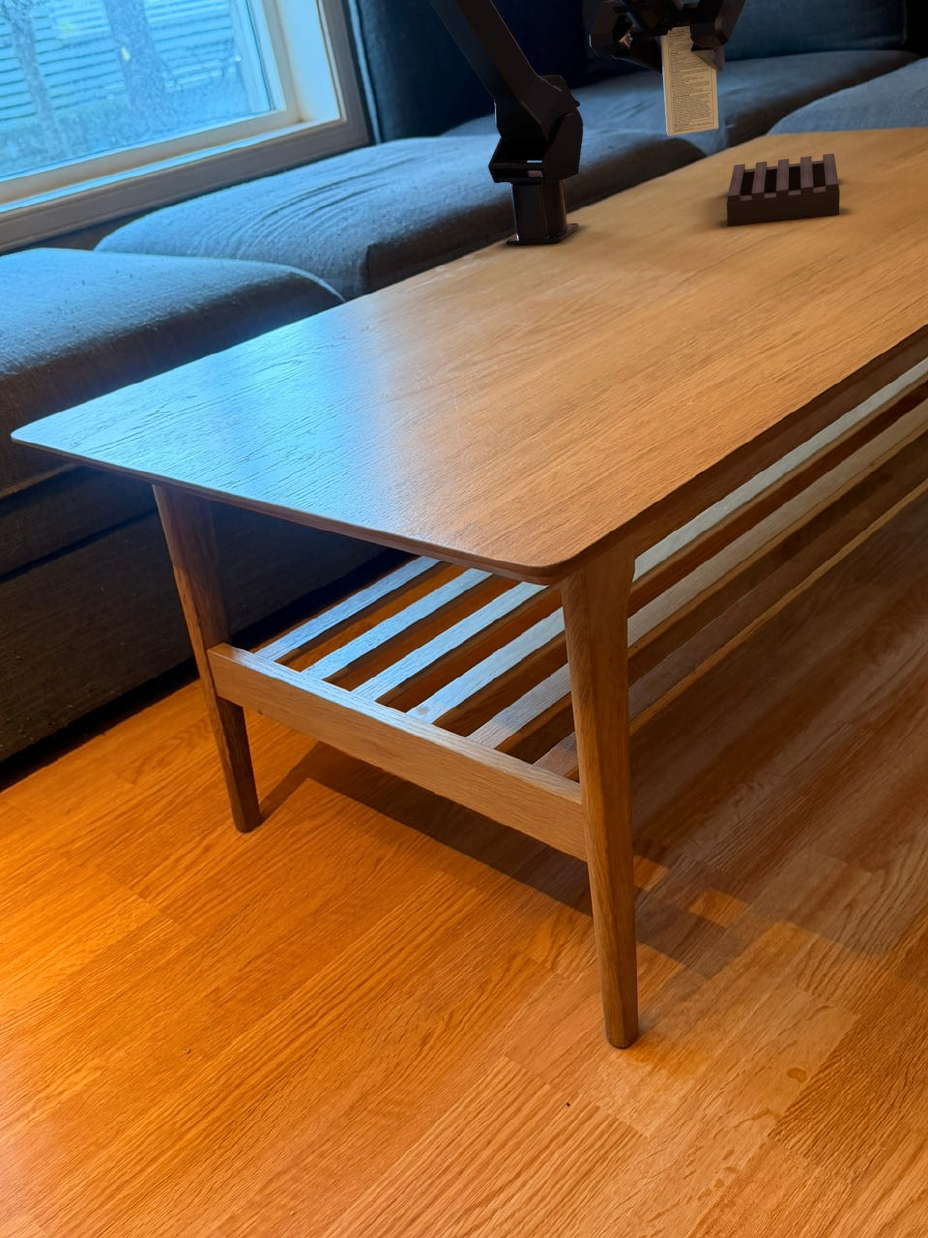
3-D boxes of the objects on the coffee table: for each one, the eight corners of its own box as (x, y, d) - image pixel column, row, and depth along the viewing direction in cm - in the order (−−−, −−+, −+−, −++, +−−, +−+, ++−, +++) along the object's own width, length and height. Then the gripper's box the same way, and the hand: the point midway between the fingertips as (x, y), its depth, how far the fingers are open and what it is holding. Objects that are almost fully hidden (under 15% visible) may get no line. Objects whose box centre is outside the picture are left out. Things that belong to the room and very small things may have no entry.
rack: (839, 214, 113) (839, 183, 112) (727, 225, 116) (726, 195, 115) (834, 181, 126) (835, 152, 125) (734, 192, 129) (733, 164, 128)
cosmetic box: (715, 124, 139) (712, 14, 133) (719, 129, 136) (715, 16, 130) (664, 132, 140) (658, 22, 134) (666, 136, 137) (660, 24, 131)
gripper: (734, -103, 118) (790, 2, 130) (595, -77, 130) (658, 17, 142) (693, -9, 117) (753, 88, 129) (558, 8, 130) (624, 96, 141)
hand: (695, 69), depth 135 cm, fingers closed on cosmetic box, 7 cm apart
